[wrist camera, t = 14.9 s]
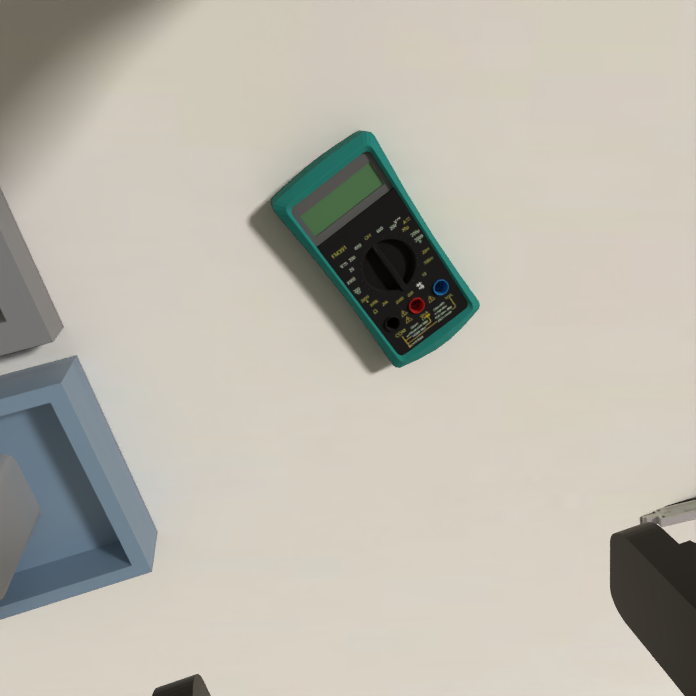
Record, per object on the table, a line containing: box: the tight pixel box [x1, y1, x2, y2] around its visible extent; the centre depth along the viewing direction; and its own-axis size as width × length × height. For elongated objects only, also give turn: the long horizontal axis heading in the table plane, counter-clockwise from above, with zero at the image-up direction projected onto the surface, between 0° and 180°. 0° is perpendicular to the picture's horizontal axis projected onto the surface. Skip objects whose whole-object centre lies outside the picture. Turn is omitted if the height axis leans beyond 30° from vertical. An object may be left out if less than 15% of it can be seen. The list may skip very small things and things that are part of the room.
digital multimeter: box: [271, 131, 480, 368], centre depth 36 cm, size 7×15×3 cm, turn 36°
